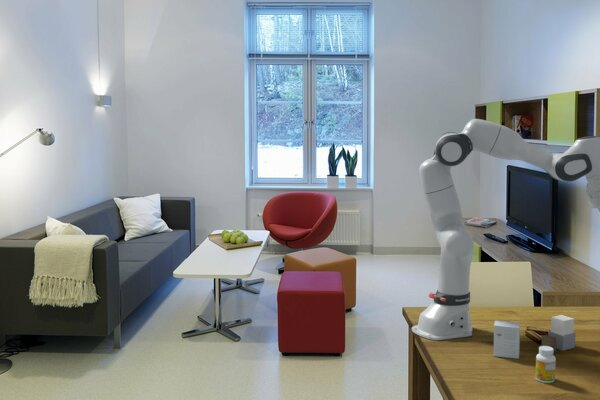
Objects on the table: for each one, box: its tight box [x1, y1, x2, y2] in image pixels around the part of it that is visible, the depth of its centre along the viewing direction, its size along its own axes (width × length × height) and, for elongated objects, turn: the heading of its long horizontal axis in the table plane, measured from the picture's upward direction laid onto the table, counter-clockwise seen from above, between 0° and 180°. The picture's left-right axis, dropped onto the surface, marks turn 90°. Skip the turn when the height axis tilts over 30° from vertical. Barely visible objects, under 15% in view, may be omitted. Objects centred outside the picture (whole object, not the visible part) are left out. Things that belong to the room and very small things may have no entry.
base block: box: [547, 330, 576, 352], centre depth 214 cm, size 6×6×5 cm
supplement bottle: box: [534, 345, 557, 384], centre depth 187 cm, size 5×5×10 cm
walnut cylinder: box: [540, 334, 557, 355], centre depth 209 cm, size 4×4×5 cm
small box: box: [493, 320, 521, 360], centre depth 207 cm, size 8×6×10 cm
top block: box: [550, 314, 575, 336], centre depth 214 cm, size 5×5×5 cm
